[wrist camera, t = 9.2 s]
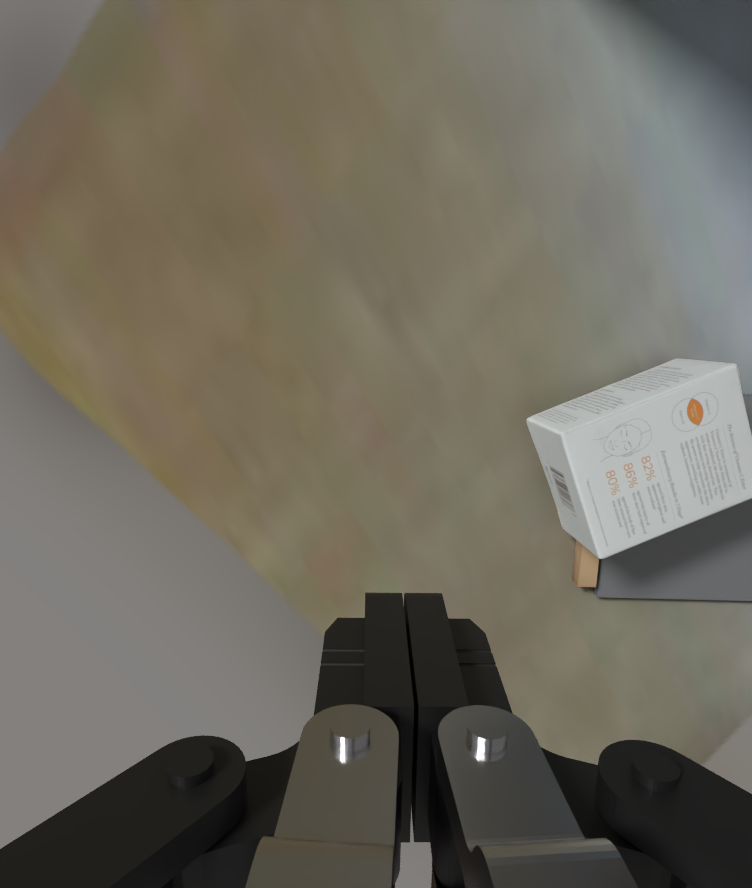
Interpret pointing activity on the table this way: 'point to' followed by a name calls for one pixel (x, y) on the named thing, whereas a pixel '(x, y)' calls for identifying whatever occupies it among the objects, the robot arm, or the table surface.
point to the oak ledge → (585, 567)
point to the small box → (647, 453)
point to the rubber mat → (687, 559)
